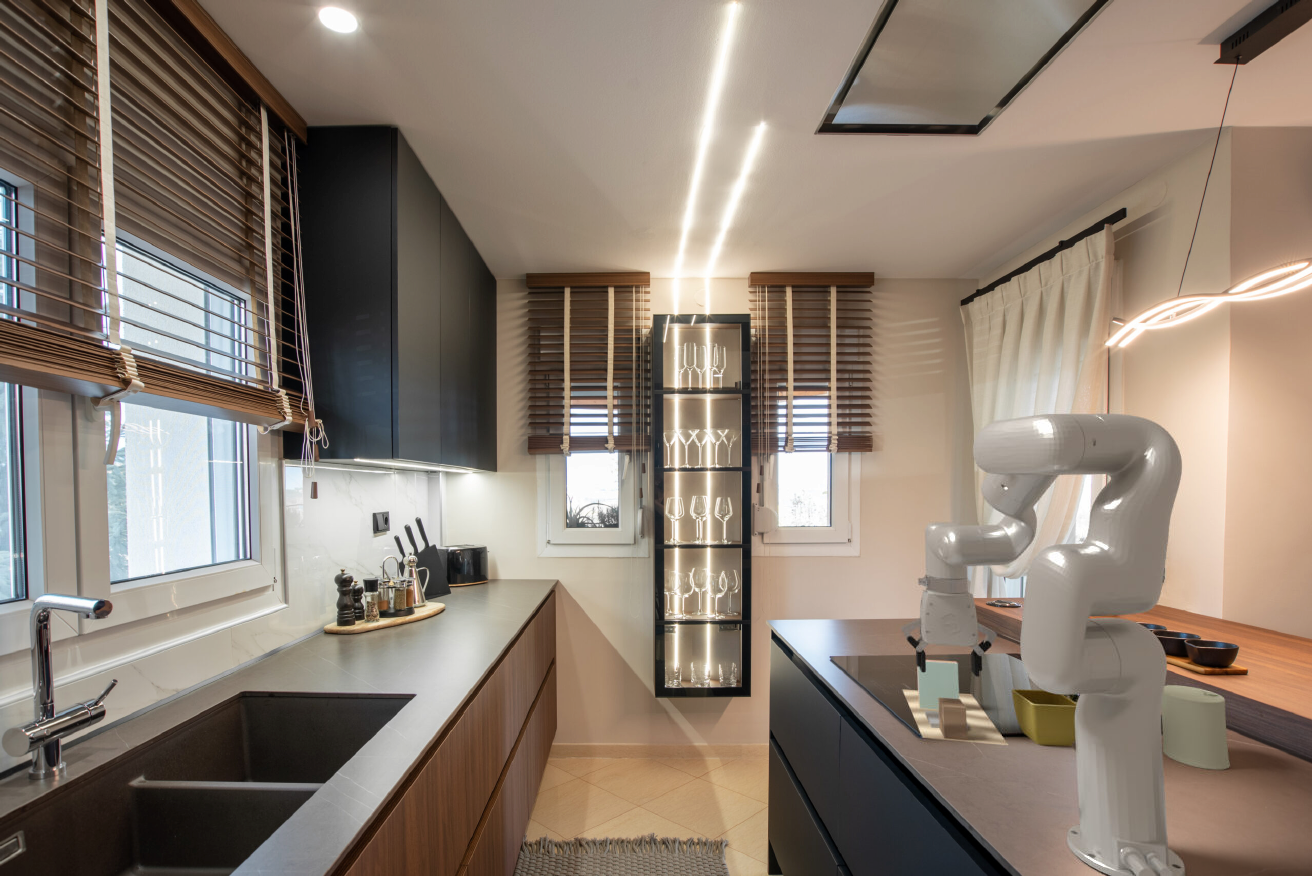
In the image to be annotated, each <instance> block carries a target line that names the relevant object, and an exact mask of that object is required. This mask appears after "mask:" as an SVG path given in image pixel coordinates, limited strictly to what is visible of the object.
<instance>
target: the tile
mask: <svg viewBox="0 0 1312 876" xmlns="http://www.w3.org/2000/svg"><path fill="white" fill-rule="evenodd" d="M916 669H917V670H916V671H917V673H916V674H917V690H918V704H919V708H926V709H939V704H938V698H951V699H959V693H960V688H959V687H960V686H959V683H960V682H959V663H958V662H957V661H954V660H953V661H951V660H936V659H926V672H925V673H923V672H921V670H920V667H918V666H917V665H916Z"/></svg>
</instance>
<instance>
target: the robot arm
mask: <svg viewBox="0 0 1312 876" xmlns="http://www.w3.org/2000/svg"><path fill="white" fill-rule="evenodd" d="M972 455H973V459H974V462H975V463H976V465H977V466H978V468H979V469H980V470H982V471H983V472H985V473H988V474H987V475H986V477H985V478H984V479H983V480H982V483H981V485H980V486H981V487H980V490H981V494H982V497H983V499H984V500H985V501H986V503H988V504H989V506H990V507H992V509H994V510H996V511H997V512H999V513H1001V514H1002V515H1004V516H1003V518H1002V519H1001V520H1000V521H999V522H998V523H996V524H977V525H975V524H974V525H962V524H960V523H956V522H946V521H945V522H944V521H942V522H941V521H939V522H937V521H935V522H930V523H927V525H926V526H925V528H924V542H925V543H924V544H925V546H924V548H925V549H924V550H925V551H924V552H925V575H924V576H923V577H921V578H920V577H919V578H918V579H917V582H918V585H919V586H923V587H925V589H922V594H921V600H920V608H919V617H918V618H917V619H915V620H911V621H910V622H907V623H906V624H903V625H901V627H900V630H901V632H902V633H903V635H904V638H905V639H906V640H907V643H909V644H910V645H911V646H912V647H913V649H915V663H916V667H917V666H918V667H920V670H921V672H923V673H925V672H926V660H927V658H926V656H927V655H926V651H925V650H924V649H926V647H927V646H928V645H935V646H936V645H937V646H946V647H947V646H949V647H950V646H951V647H962V648H964V647H965V648H966V647H967V648H968V647H970V648H972V651H971V653H970V661H971V663H970V664H971V666H970V667H971V668H970V670H971V672H972V673H973V675H974V676H975V677H980V672H982V671H983V662H982V661H983V656H984V655H985V653H986V652H987V651H989V649H991V648H992V645H993V643H994V641H995V640H996V639H997V636H998V635H997V633H996V632H995V631H994V630H992V629H991V628H988V627H986V626H984V625H983V624H981V623H979V622H978V617H977V610H976V609H977V608H976V604H975V600H974V599H975V598H974V595H973V594H972V593H971V592H969V587H968V586H969V584H968V583H969V582H968V581H969V579H968V577H969V576H968V567H979V566H980V567H981V566H982V567H984V566H986V567H987V566H1004V565H1010V563H1013V562H1014V561H1016V560H1017V559H1019V557H1021V555H1022V554H1023V553H1024V552H1025V551H1026V550H1027V549H1028V548H1029V546H1030V545H1031V544H1032V543H1033V541H1034V539H1035V537H1036V534H1037V527H1038V525H1037V524H1038V520H1037V519H1038V518H1037V514H1036V510H1035V508H1034V507H1035V505H1036V504H1037V503H1038V502H1039V501H1040V500H1041V498H1042V497H1043V495H1044V494H1045V493H1046V492H1047V491H1048V489H1049V488H1050V487H1051V485H1052V484H1053V483H1054V482H1055V481H1056V480H1057V478H1058V477H1059V476H1063V475H1066V476H1070V475H1071V476H1073V475H1081V476H1082V475H1086V476H1087V475H1088V476H1089V475H1107V476H1109V477H1110V479H1109V481H1108V482H1107V483H1106V484H1105V486H1104V487H1103V488H1102V489H1100V490H1101V491H1100V492H1099V493H1098V495H1097V496H1096V497H1095V500H1094V502H1093V503H1092V506H1091V509H1090V511H1089V522H1088V523H1089V524H1088V531H1087V535H1086V538H1085V540H1084V541H1083V542H1082V543H1064V544H1063V543H1062V544H1056V545H1055V544H1054V545H1050V546H1047V547H1046V548H1044V549H1042V550H1040V551H1039V552H1038V553H1037V554H1036V555H1035V556H1034V557H1033V559H1032V561H1031V563H1030V565H1029V568H1028V569H1027V574H1026V581H1025V588H1024V598H1023V608H1022V617H1021V618H1022V619H1021V628H1020V637H1019V638H1020V642H1019V643H1020V648H1019V649H1020V657H1021V662H1022V666H1023V668H1024V670H1025V673H1026V675H1027V676H1028V677H1029V680H1031V682H1032V683H1033V684H1034V685H1036V687H1038V688H1039V689H1040V690H1045V691H1047V692H1050V693H1054V694H1062V695H1079V696H1078V700H1077V702H1076V703H1077V705H1076V710H1075V741H1074V743H1075V758H1076V777H1077V778H1076V779H1077V792H1078V793H1077V796H1078V812H1079V814H1078V815H1079V824H1075V825H1074V826H1072V827H1070V828H1069V829H1068V830H1067V833H1066V834H1067V835H1066V839H1067V845H1068V847H1069V849H1070V850H1071V851H1072V853H1073V854H1074V855H1075V856H1077V857H1078V858H1079V859H1080V860H1081V861H1083V862H1084V863H1085V864H1086V865H1089V866H1090V867H1092V868H1093V869H1095V870H1097V871H1099V872H1100V873H1103V874H1106V875H1108V876H1186V869H1185V864H1184V861H1183V860H1182V859H1181V857H1180V856H1179V855H1178V854H1177V853H1175V852H1174V851H1173V850H1172V849H1171V848H1169V841H1168V838H1169V837H1168V825H1167V823H1168V822H1167V807H1166V794H1165V793H1166V791H1165V776H1164V775H1165V773H1164V762H1163V761H1164V760H1163V758H1164V757H1163V741H1162V740H1163V735H1162V710H1161V704H1162V696H1163V690H1164V686H1166V678H1167V671H1168V663H1167V655H1166V651H1165V649H1164V647H1163V646H1164V645H1162V643H1161V641H1160V640H1159V638H1158V637H1157V636H1156V635H1155V634H1154V633H1153V632H1152V630H1150V629H1149V628H1148V627H1146V626H1144V625H1143V624H1140V623H1139V622H1135V621H1134V620H1133V621H1132V620H1130V619H1124V618H1118V617H1116V618H1115V617H1107V616H1124V615H1125V616H1126V615H1135V614H1142V613H1146V612H1149V611H1150V610H1152V609H1153V608H1154V607H1155V606H1156V605H1157V604H1158V602H1159V600H1160V597H1161V594H1162V588H1163V582H1164V581H1163V580H1164V575H1165V566H1166V560H1167V559H1166V557H1167V552H1168V551H1167V550H1168V546H1169V545H1168V543H1169V536H1170V535H1169V533H1170V523H1171V517H1172V512H1173V509H1174V506H1175V505H1174V504H1175V502H1176V498H1177V495H1178V492H1179V489H1180V488H1179V487H1180V484H1181V481H1182V480H1181V479H1182V471H1183V462H1182V455H1181V451H1180V449H1179V447H1178V444H1177V443H1176V441H1175V439H1174V437H1173V436H1172V435H1171V434H1170V433H1169V431H1168V430H1166V429H1165V428H1164V427H1163V426H1161V424H1158V423H1156V422H1155V421H1153V420H1150V419H1148V418H1145V417H1140V416H1136V415H1130V414H1122V413H1121V414H1120V413H1046V414H1038V415H1035V414H1034V415H1029V416H1023V417H1022V416H1021V417H1016V418H1009V419H1000V420H994V421H992V422H989V423H987V424H986V425H985V426H983V427H982V429H980V430H979V432H978V433H977V435H976V437H975V439H974V441H973V446H972ZM1104 616H1105V617H1104ZM1090 617H1095V618H1090ZM1096 617H1097V618H1096ZM916 629H919V634H920V637H918V639H916V638H915V637H914V636H913V635H912V633H911V632H912V631H914V630H916ZM979 632H980V633H982V634H983V635H985V638H984V639H983V640H982V641H981V642H980V643H979Z"/></svg>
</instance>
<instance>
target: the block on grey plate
mask: <svg viewBox="0 0 1312 876" xmlns="http://www.w3.org/2000/svg"><path fill="white" fill-rule="evenodd" d="M938 704H939V712H935V711H925V715H926V717H927V719H928V722H929V724H930V726H931V728H940V730H941V732H942V734H943V736H944V738H945V739H957V740H967V731H969V725H968V724H967V721H966V707H965V706H964V704H963V703H962V701H961V700H960V699H951V698H938Z"/></svg>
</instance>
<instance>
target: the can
mask: <svg viewBox="0 0 1312 876" xmlns="http://www.w3.org/2000/svg"><path fill="white" fill-rule="evenodd" d="M1161 727H1162V740H1163V741H1162V753H1163V754H1164V755H1165V756H1166V757H1168V758H1169V759H1172V760H1173V761H1176V762H1177V763H1181V764H1184V765H1186V766H1190V767H1194V768H1199V769H1205V770H1213V771H1215V770H1217V771H1218V770H1219V771H1220V770H1222V771H1223V770H1226V769H1227V770H1228V769H1229V768H1230V767H1231V764H1230V763H1231V762H1230V760H1229V759H1230V758H1229V752H1228V751H1229V750H1228V738H1227V736H1228V735H1227V721H1226V698H1224V697H1223V696H1222V694H1221V695H1220V694H1218V693H1216V692H1213V691H1211V690H1210V691H1209V690H1207V689H1203V688H1198V687H1193V686H1186V685H1174V684H1172V685H1171V684H1167V685H1164V690H1163V696H1162V704H1161Z"/></svg>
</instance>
